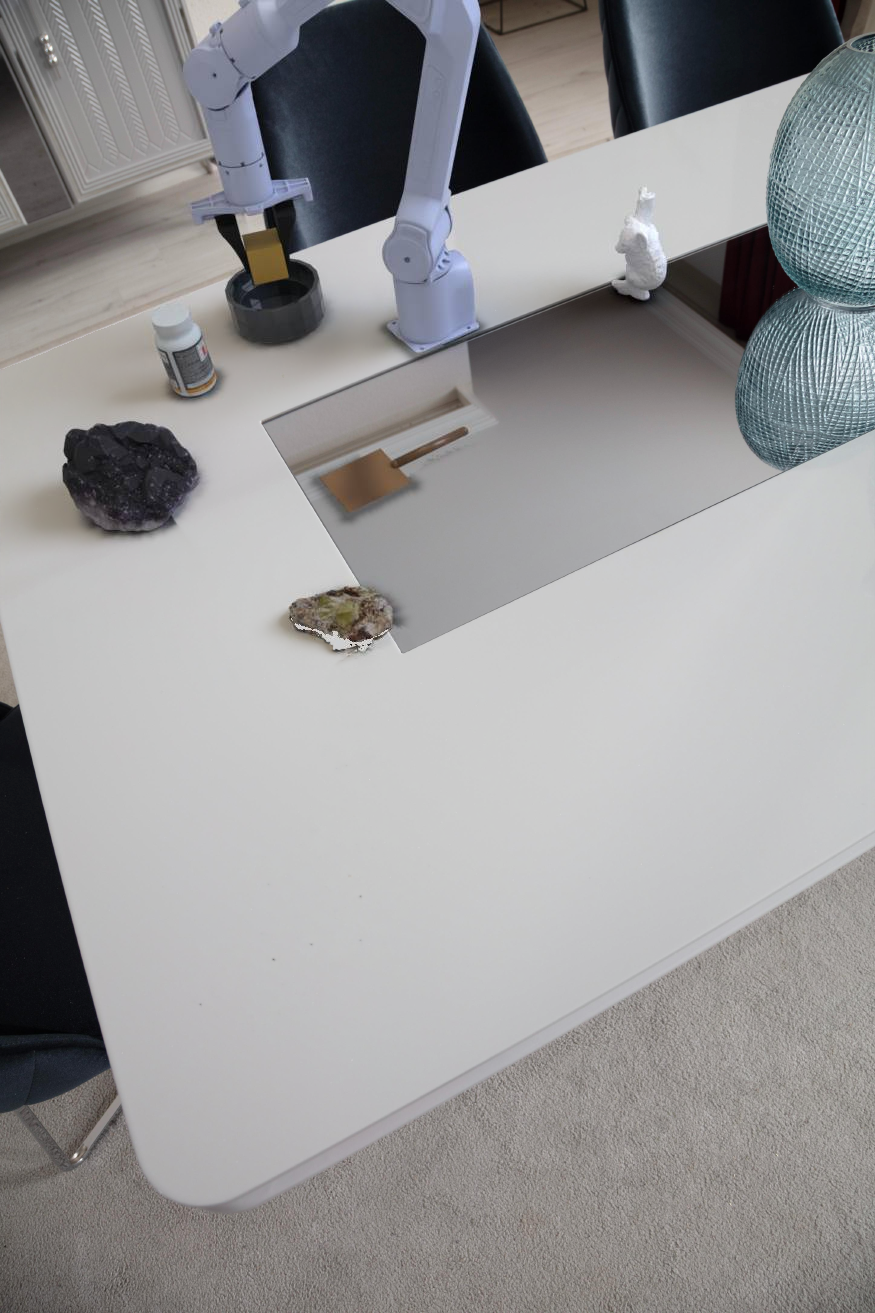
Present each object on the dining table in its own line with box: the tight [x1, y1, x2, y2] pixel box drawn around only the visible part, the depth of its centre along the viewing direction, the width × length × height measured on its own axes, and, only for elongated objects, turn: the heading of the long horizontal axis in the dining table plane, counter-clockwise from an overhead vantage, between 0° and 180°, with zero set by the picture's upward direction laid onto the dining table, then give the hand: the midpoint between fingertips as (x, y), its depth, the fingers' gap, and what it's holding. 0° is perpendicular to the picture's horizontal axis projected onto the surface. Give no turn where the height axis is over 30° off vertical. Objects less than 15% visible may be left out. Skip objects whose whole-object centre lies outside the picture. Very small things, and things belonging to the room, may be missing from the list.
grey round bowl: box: [224, 257, 326, 344], centre depth 122 cm, size 12×12×5 cm
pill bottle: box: [150, 302, 217, 398], centre depth 112 cm, size 6×6×10 cm
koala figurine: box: [611, 186, 668, 301], centre depth 116 cm, size 8×7×12 cm
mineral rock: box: [288, 584, 395, 649], centre depth 90 cm, size 11×4×8 cm
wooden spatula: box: [318, 426, 469, 514], centre depth 104 cm, size 18×7×1 cm, turn 122°
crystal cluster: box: [61, 420, 200, 533], centre depth 102 cm, size 13×14×10 cm
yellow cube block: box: [241, 227, 289, 285], centre depth 117 cm, size 4×4×4 cm
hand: (267, 265), depth 118 cm, fingers closed on yellow cube block, 4 cm apart
